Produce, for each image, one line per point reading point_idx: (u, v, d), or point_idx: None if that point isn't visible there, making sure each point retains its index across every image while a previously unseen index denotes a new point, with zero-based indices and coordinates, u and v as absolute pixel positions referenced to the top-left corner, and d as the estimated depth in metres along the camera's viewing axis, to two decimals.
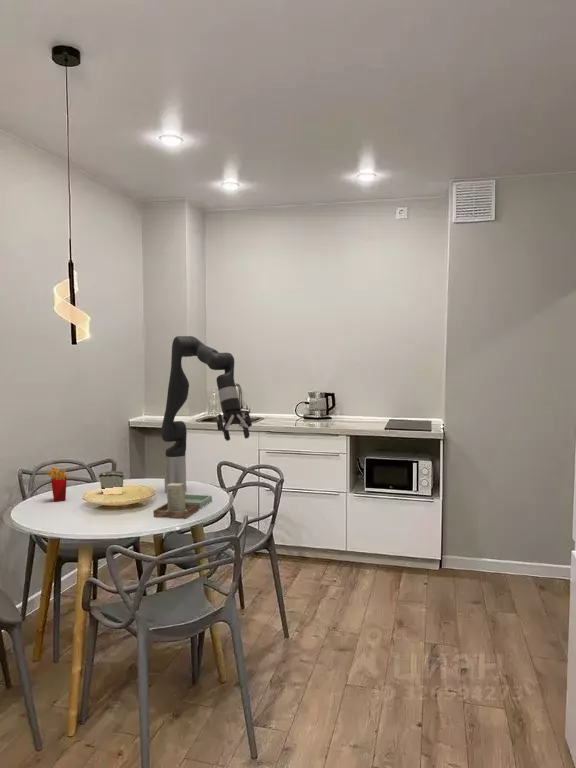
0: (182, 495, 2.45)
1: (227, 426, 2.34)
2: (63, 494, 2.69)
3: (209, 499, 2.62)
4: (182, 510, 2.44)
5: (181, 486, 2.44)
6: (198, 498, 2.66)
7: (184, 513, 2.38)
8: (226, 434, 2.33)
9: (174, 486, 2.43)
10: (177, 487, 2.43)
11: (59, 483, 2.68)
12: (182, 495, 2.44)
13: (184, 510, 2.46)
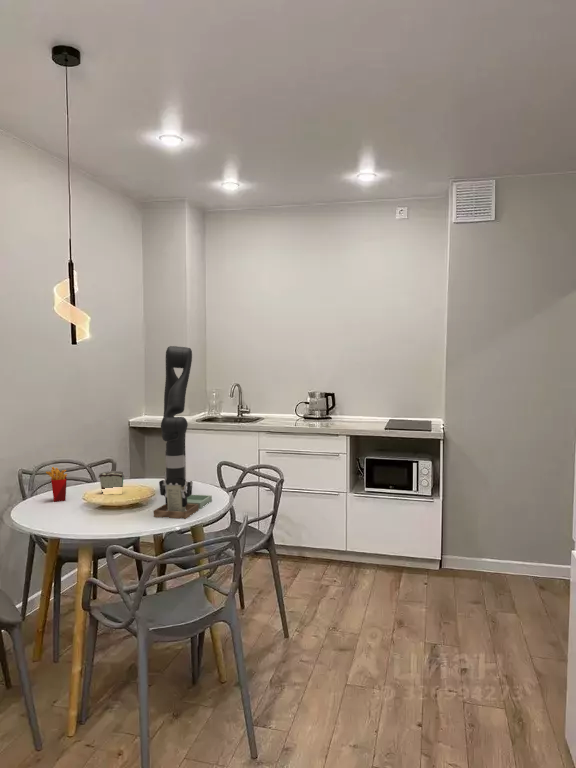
0: None
1: None
2: (63, 494, 2.69)
3: (209, 499, 2.62)
4: (182, 510, 2.44)
5: None
6: (198, 498, 2.66)
7: (184, 513, 2.38)
8: (166, 500, 2.46)
9: (174, 486, 2.43)
10: (177, 487, 2.43)
11: (59, 483, 2.68)
12: None
13: (184, 510, 2.46)
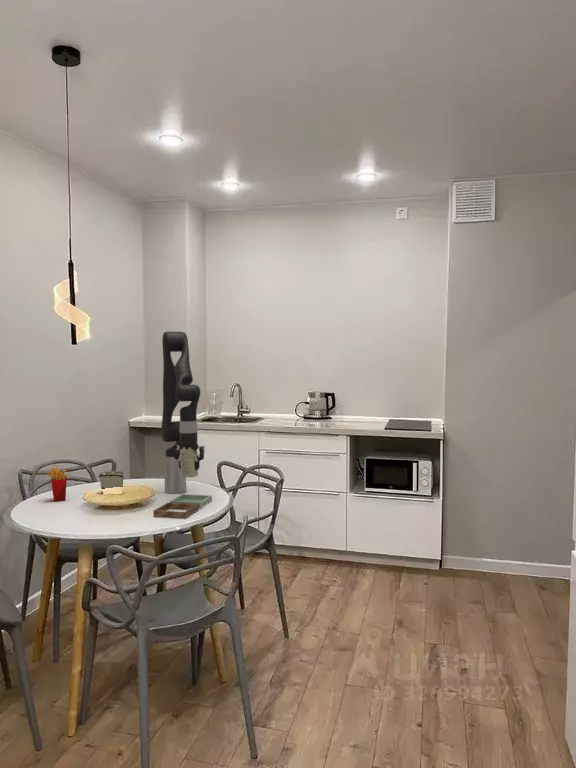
0: None
1: None
2: (63, 494, 2.69)
3: (209, 499, 2.62)
4: (195, 473, 2.58)
5: (193, 450, 2.57)
6: (198, 498, 2.66)
7: (184, 513, 2.38)
8: (179, 464, 2.60)
9: (187, 450, 2.57)
10: (190, 451, 2.56)
11: (59, 483, 2.68)
12: None
13: (196, 473, 2.60)
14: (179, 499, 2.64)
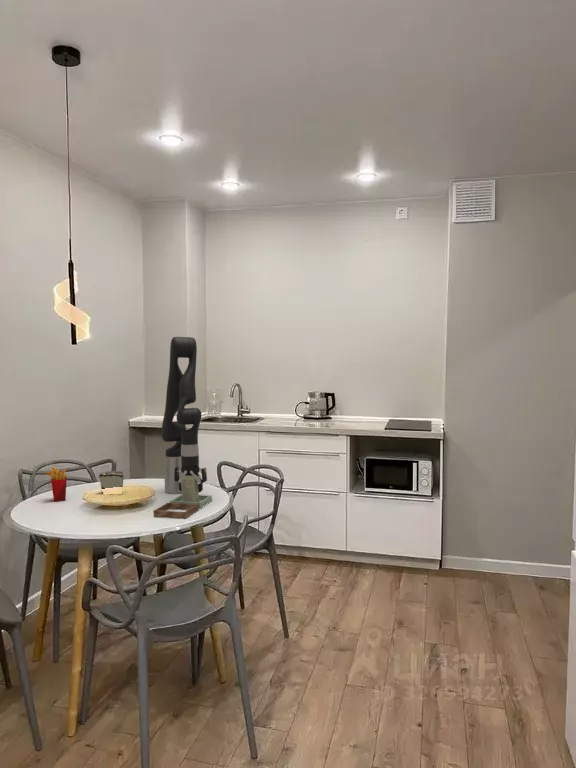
0: (196, 485, 2.59)
1: (180, 479, 2.60)
2: (63, 494, 2.69)
3: (209, 499, 2.62)
4: (196, 499, 2.59)
5: None
6: None
7: (184, 513, 2.38)
8: (179, 486, 2.61)
9: (188, 477, 2.58)
10: (191, 477, 2.57)
11: (59, 483, 2.68)
12: (195, 485, 2.59)
13: (197, 499, 2.60)
14: (179, 499, 2.64)
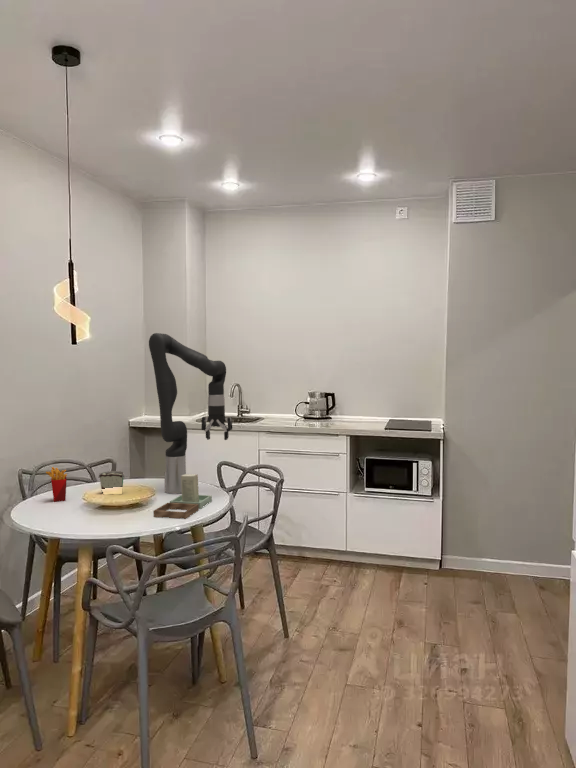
0: (196, 485, 2.59)
1: (207, 428, 2.75)
2: (63, 494, 2.69)
3: (209, 499, 2.62)
4: (196, 499, 2.59)
5: (194, 476, 2.58)
6: None
7: (184, 513, 2.38)
8: (206, 434, 2.76)
9: (188, 477, 2.58)
10: (191, 478, 2.57)
11: (59, 483, 2.68)
12: (195, 485, 2.59)
13: (197, 499, 2.60)
14: (179, 499, 2.64)
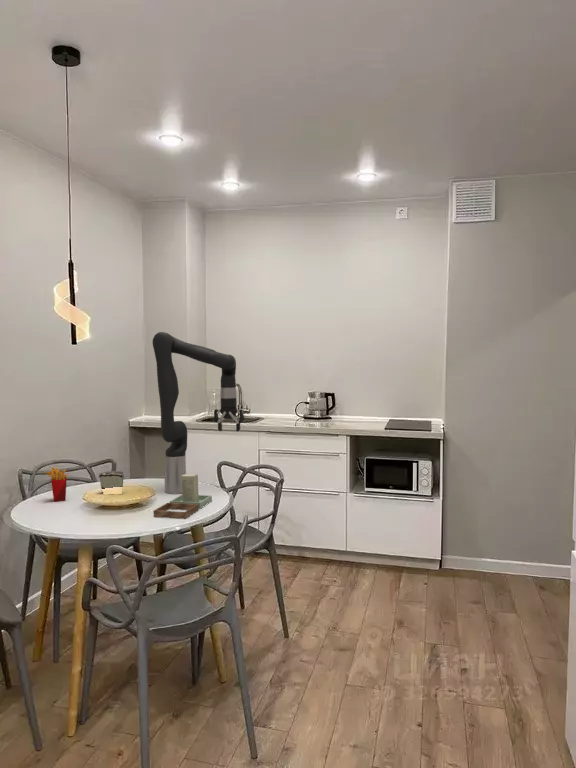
0: (196, 485, 2.59)
1: (219, 420, 2.84)
2: (63, 494, 2.69)
3: (209, 499, 2.62)
4: (196, 499, 2.59)
5: (194, 476, 2.58)
6: None
7: (184, 513, 2.38)
8: (218, 426, 2.84)
9: (188, 477, 2.58)
10: (191, 478, 2.57)
11: (59, 483, 2.68)
12: (195, 485, 2.59)
13: (197, 499, 2.60)
14: (179, 499, 2.64)
